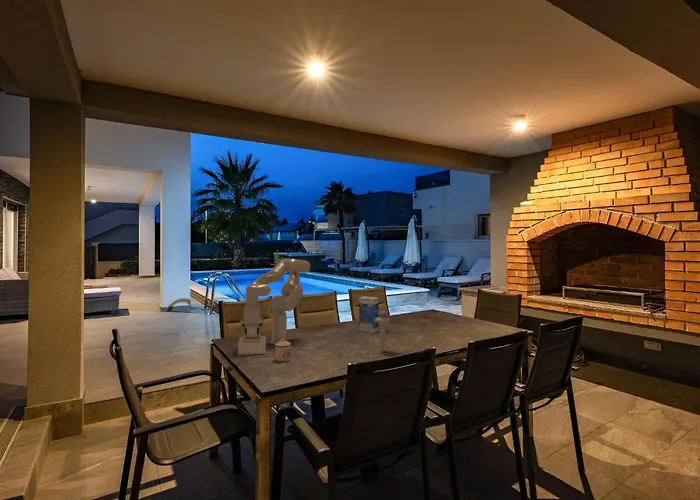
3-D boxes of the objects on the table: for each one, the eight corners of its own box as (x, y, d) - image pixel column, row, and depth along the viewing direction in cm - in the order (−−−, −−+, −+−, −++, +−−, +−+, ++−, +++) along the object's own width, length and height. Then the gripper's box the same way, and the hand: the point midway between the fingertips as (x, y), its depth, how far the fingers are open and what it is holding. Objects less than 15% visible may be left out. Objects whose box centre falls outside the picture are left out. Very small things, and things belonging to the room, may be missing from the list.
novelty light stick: (371, 349, 240) (371, 310, 239) (385, 348, 243) (386, 309, 242) (378, 354, 230) (378, 313, 230) (392, 352, 234) (393, 312, 233)
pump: (257, 334, 240) (257, 322, 240) (256, 337, 232) (256, 325, 232) (247, 334, 239) (247, 322, 239) (246, 337, 231) (246, 325, 231)
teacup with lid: (284, 362, 214) (284, 342, 214) (271, 360, 218) (271, 340, 218) (296, 357, 225) (296, 337, 224) (284, 354, 229) (284, 335, 229)
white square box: (265, 346, 247) (265, 333, 246) (265, 353, 231) (265, 339, 231) (240, 347, 243) (239, 334, 243) (237, 355, 228) (237, 341, 227)
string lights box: (378, 331, 288) (379, 297, 288) (374, 333, 282) (374, 298, 281) (363, 329, 295) (363, 296, 295) (358, 331, 289) (358, 297, 288)
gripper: (266, 303, 242) (266, 332, 242) (238, 304, 238) (238, 333, 239) (266, 305, 234) (266, 335, 235) (237, 306, 231) (237, 336, 231)
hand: (252, 333), depth 237 cm, fingers closed on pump, 6 cm apart
